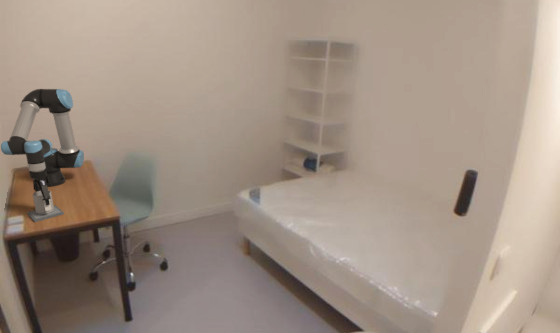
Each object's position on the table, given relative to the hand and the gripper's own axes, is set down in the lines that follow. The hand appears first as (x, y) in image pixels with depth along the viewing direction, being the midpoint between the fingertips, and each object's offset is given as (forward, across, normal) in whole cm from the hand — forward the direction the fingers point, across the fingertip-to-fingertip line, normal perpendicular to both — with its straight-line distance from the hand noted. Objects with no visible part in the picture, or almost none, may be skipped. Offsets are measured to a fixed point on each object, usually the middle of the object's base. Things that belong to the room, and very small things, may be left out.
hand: (44, 206), depth 191 cm
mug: (+4, 0, 0) cm, 4 cm away
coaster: (+5, 0, 0) cm, 5 cm away
